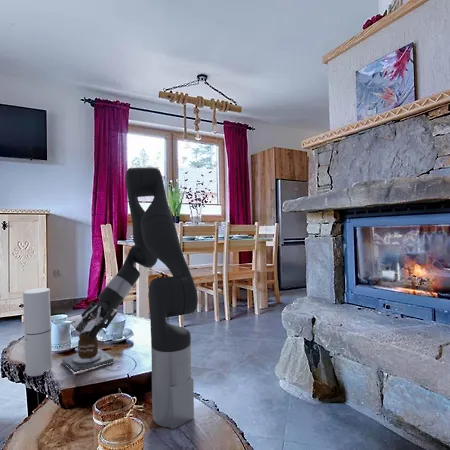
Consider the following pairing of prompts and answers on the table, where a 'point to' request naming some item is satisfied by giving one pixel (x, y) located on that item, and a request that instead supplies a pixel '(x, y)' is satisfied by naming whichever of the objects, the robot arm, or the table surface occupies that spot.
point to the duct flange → (87, 361)
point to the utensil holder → (87, 345)
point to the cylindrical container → (37, 331)
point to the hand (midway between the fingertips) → (83, 334)
